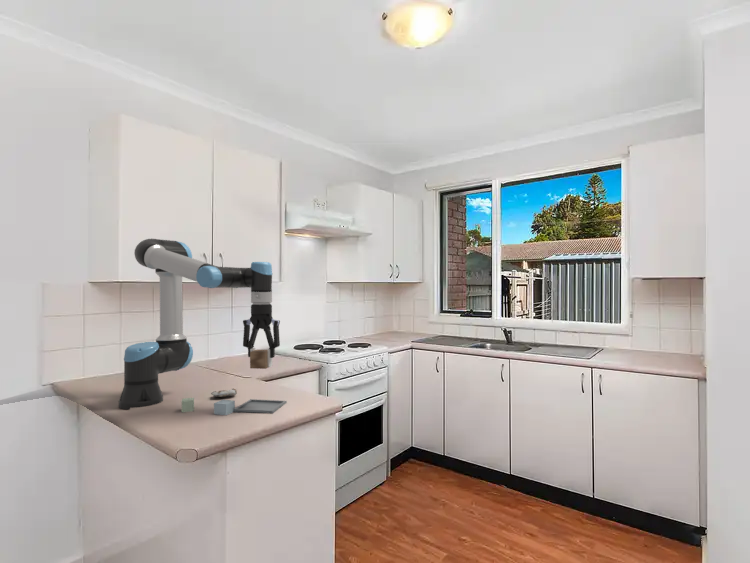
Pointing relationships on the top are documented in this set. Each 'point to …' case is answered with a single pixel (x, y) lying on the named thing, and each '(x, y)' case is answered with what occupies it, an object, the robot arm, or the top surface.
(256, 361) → the block walnut
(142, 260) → the robot arm
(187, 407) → the block sage
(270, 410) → the tray
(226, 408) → the block bluegrey
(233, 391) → the stone
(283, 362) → the top surface
